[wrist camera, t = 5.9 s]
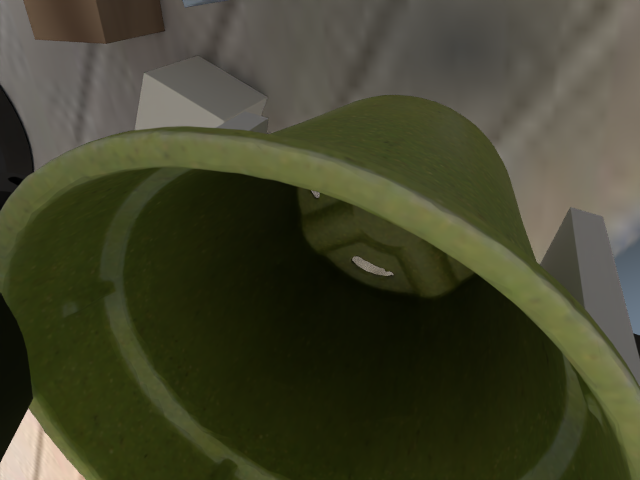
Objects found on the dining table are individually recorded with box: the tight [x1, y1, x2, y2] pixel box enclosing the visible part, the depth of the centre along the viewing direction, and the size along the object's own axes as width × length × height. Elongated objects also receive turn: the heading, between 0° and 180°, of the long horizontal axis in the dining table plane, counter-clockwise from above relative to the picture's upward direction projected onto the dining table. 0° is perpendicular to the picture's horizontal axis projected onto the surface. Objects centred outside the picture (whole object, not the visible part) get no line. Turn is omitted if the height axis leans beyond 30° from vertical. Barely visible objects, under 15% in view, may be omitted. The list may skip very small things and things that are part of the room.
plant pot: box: [0, 95, 640, 480], centre depth 10 cm, size 9×9×9 cm
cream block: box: [135, 56, 268, 130], centre depth 28 cm, size 5×5×5 cm
